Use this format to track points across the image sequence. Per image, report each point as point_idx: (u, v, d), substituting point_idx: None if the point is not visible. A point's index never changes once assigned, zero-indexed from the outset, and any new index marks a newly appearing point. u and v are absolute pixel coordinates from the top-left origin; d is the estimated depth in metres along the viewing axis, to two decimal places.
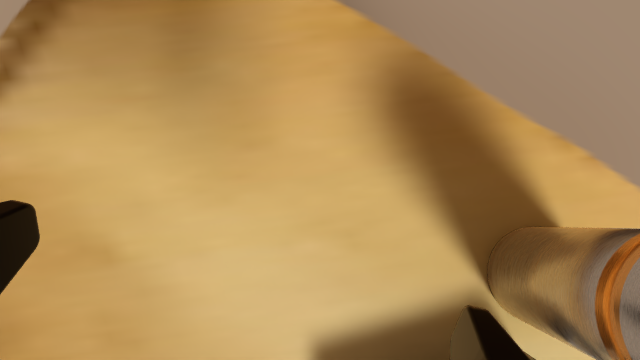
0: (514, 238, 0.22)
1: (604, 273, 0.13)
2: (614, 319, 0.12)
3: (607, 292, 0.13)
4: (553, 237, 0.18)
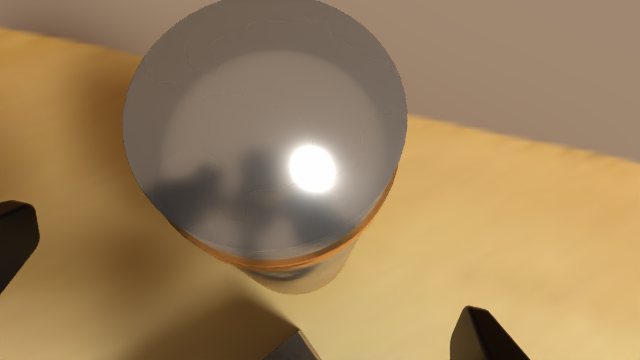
0: None
1: None
2: None
3: None
4: None
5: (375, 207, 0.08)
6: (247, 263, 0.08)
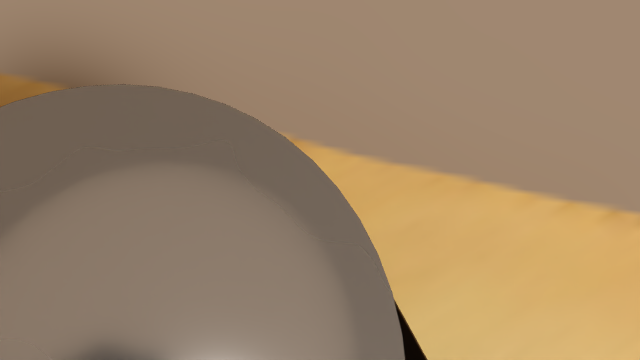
0: None
1: None
2: None
3: None
4: None
5: None
6: None
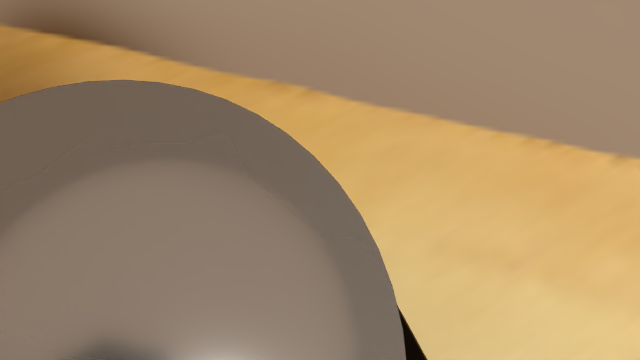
0: None
1: None
2: None
3: None
4: None
5: None
6: None
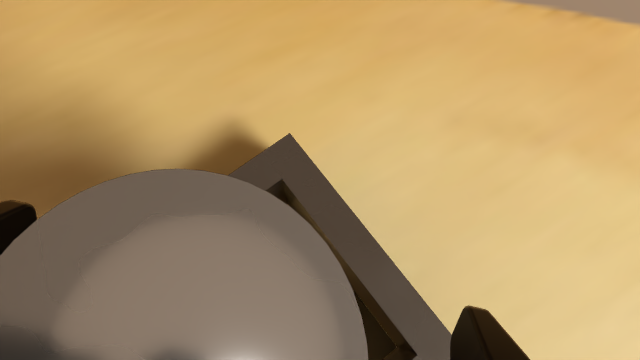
0: None
1: None
2: None
3: None
4: None
5: None
6: None
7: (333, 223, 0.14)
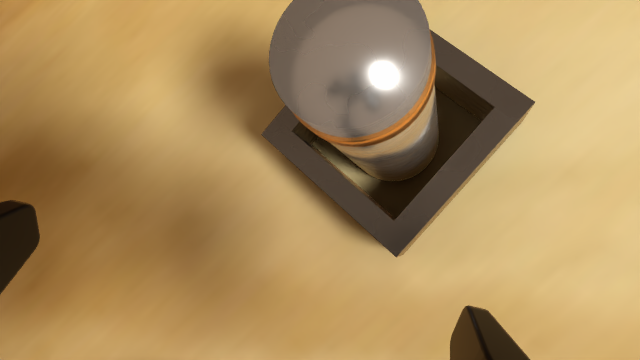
0: None
1: None
2: None
3: None
4: None
5: (425, 88, 0.14)
6: (357, 139, 0.14)
7: None
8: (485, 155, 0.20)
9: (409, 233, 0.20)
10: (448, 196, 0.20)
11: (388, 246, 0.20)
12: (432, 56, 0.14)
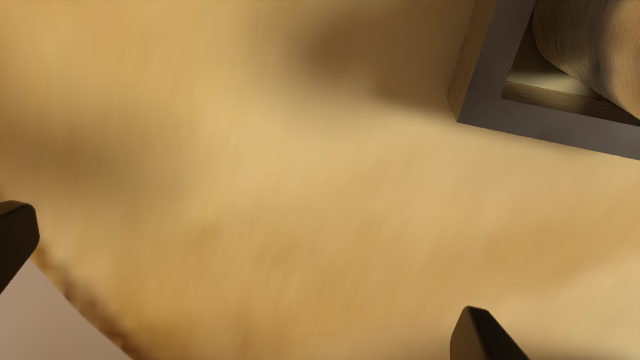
0: (543, 30, 0.16)
1: None
2: None
3: None
4: (580, 36, 0.13)
5: None
6: None
7: None
8: None
9: None
10: None
11: None
12: None
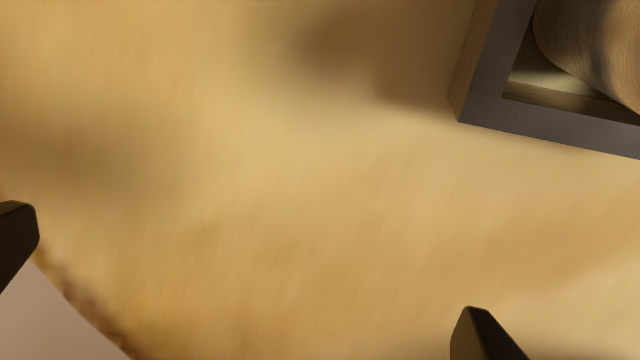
0: (543, 28, 0.16)
1: None
2: None
3: None
4: (578, 32, 0.13)
5: None
6: None
7: None
8: None
9: None
10: None
11: None
12: None
